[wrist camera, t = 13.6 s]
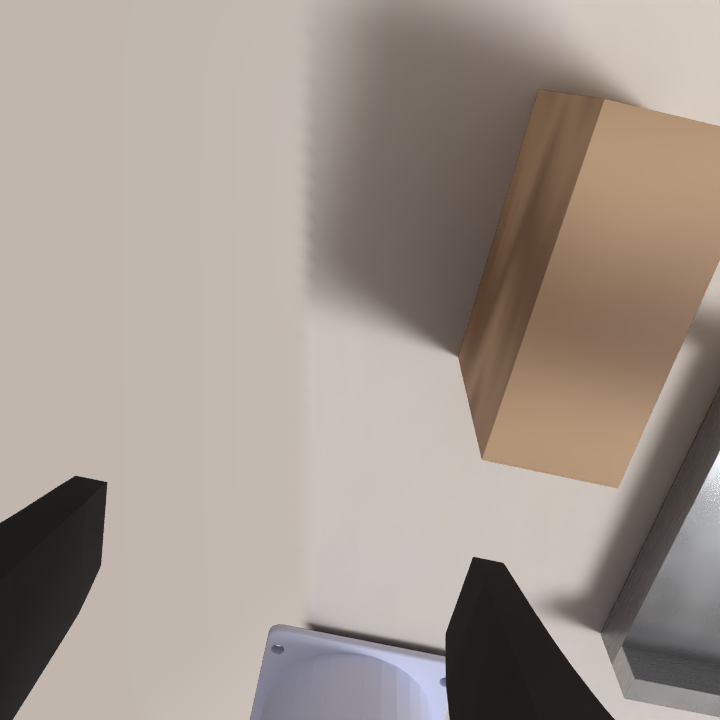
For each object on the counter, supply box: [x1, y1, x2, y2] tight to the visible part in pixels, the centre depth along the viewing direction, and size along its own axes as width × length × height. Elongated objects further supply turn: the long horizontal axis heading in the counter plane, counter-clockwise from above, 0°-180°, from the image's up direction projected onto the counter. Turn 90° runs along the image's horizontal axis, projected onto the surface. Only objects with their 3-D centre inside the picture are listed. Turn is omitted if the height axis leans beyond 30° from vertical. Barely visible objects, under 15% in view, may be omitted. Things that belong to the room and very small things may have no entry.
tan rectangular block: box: [458, 90, 720, 488], centre depth 18 cm, size 8×4×6 cm, turn 168°
